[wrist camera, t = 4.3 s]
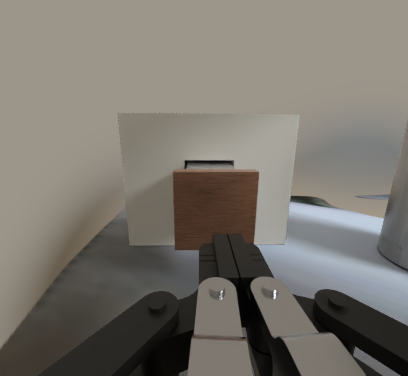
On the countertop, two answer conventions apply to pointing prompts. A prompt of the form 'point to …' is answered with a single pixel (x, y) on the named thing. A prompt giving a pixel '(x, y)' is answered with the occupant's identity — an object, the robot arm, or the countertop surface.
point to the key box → (204, 151)
